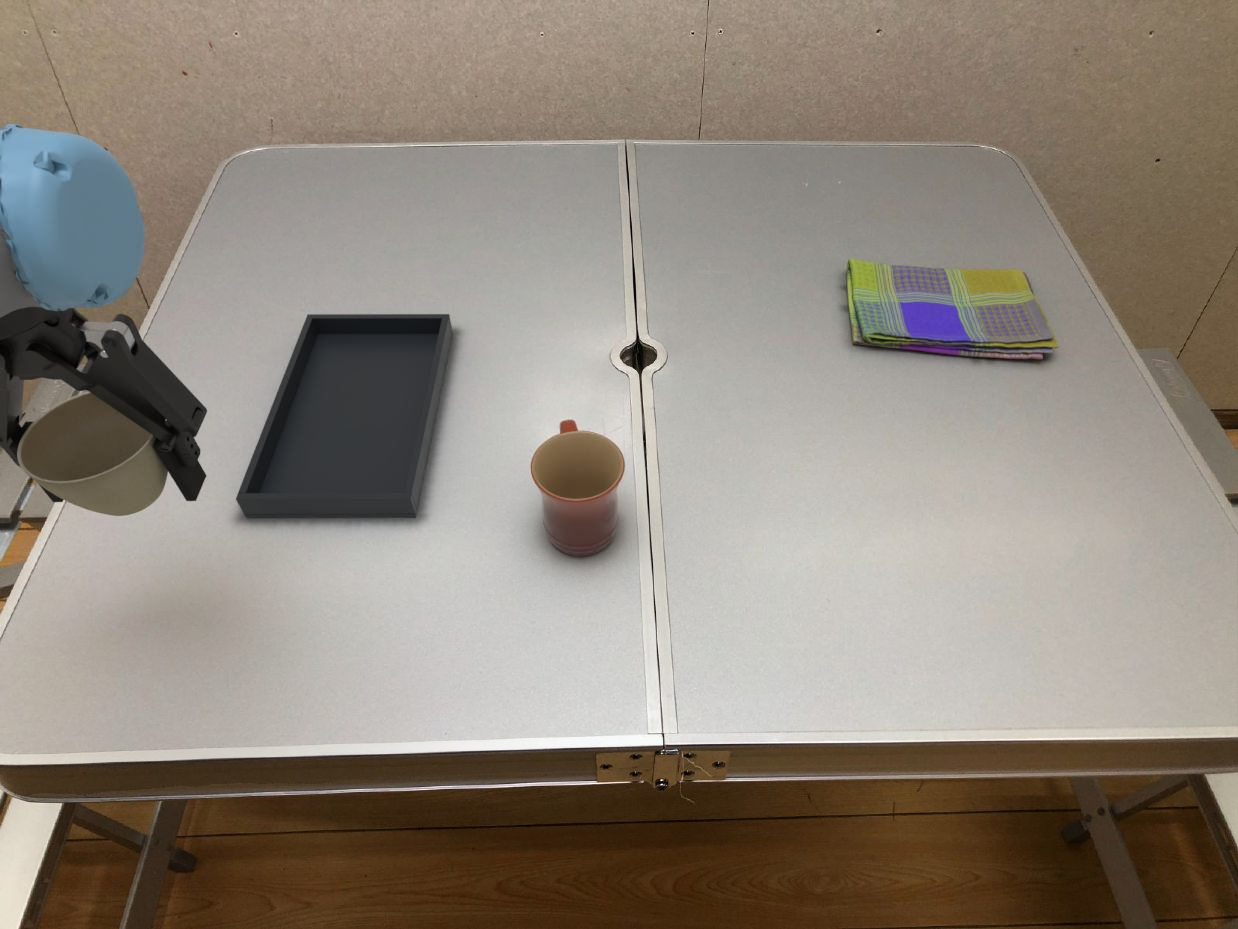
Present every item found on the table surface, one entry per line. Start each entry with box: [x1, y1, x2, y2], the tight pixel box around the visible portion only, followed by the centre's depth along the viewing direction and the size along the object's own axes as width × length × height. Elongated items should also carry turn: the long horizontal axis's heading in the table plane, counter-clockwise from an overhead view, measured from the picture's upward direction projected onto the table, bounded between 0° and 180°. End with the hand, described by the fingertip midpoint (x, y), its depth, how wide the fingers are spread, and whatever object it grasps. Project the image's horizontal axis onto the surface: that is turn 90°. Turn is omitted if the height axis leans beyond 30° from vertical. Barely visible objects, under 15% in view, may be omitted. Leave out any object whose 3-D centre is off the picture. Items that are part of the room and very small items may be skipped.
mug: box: [530, 419, 626, 557], centre depth 82 cm, size 12×9×10 cm
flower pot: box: [17, 390, 169, 517], centre depth 66 cm, size 10×10×7 cm
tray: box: [235, 313, 454, 519], centre depth 95 cm, size 30×18×3 cm, turn 0°
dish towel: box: [846, 258, 1060, 360], centre depth 108 cm, size 18×24×3 cm
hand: (130, 488), depth 68 cm, fingers closed on flower pot, 10 cm apart
